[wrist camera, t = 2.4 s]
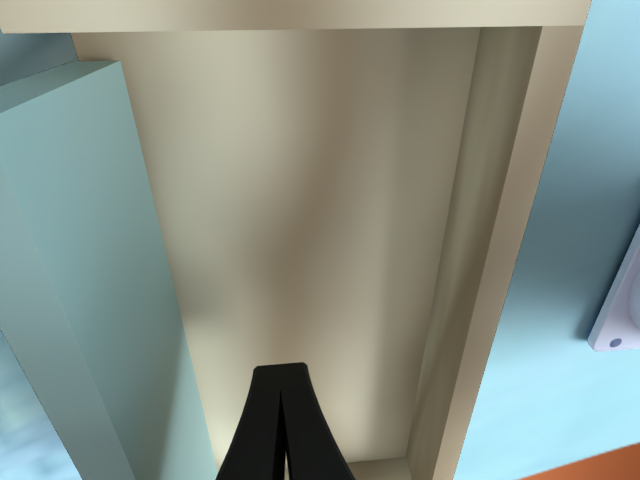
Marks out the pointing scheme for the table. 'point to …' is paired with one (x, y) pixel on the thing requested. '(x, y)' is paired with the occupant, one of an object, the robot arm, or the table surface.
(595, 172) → the table surface
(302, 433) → the robot arm
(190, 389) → the tailgate
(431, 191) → the beige tray
